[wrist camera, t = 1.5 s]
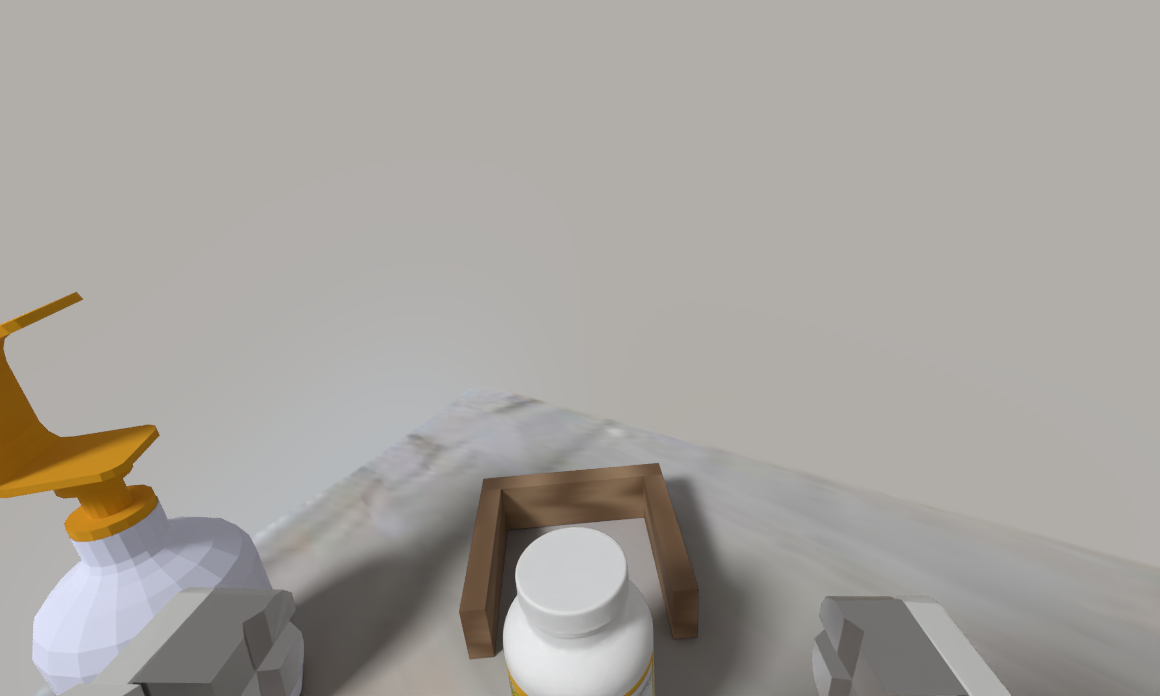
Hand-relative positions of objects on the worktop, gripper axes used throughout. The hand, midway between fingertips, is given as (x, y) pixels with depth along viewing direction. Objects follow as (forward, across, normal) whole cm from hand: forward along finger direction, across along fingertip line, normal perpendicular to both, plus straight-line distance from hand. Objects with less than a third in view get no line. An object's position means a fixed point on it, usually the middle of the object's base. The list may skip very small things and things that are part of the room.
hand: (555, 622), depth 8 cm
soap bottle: (+15, +20, +23) cm, 35 cm away
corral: (+24, 0, +21) cm, 32 cm away
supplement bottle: (+12, -1, +22) cm, 25 cm away
